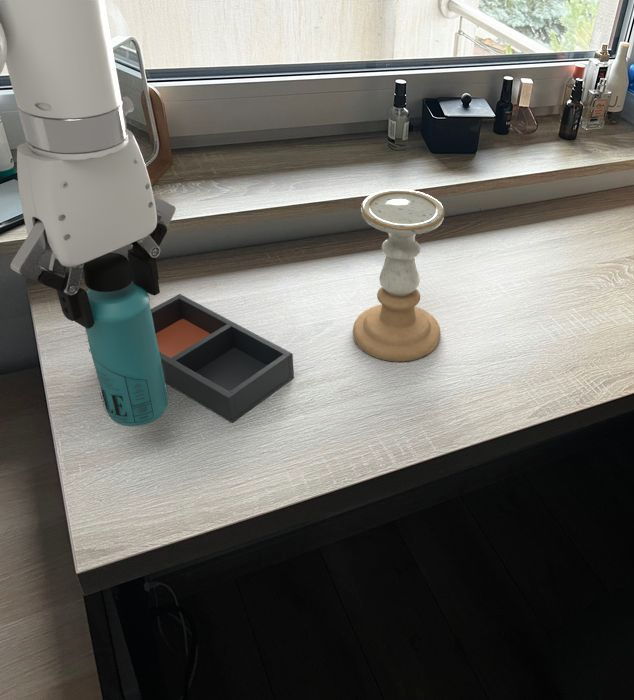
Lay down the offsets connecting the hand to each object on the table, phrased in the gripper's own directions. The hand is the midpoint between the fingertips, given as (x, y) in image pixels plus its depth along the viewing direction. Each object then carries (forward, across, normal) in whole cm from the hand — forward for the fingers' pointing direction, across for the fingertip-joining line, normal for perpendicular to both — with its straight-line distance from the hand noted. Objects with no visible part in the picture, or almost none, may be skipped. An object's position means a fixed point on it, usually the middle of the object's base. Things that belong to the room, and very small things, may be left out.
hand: (114, 303), depth 70 cm
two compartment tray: (+20, -14, -6) cm, 25 cm away
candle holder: (+19, -35, +9) cm, 41 cm away
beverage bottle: (+15, 0, 0) cm, 15 cm away
